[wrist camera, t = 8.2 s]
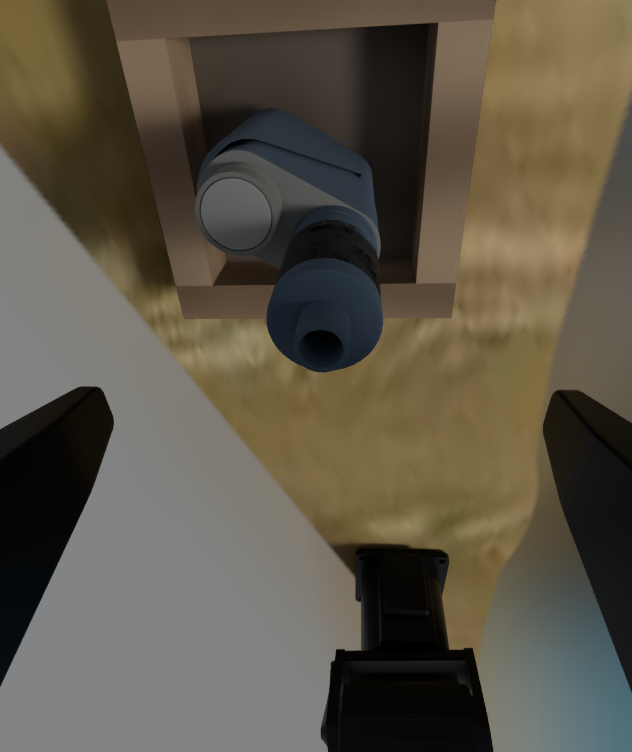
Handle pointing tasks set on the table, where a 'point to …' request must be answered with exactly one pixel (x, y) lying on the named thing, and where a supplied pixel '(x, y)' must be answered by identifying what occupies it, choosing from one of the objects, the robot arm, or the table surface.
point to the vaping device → (300, 233)
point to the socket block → (313, 124)
